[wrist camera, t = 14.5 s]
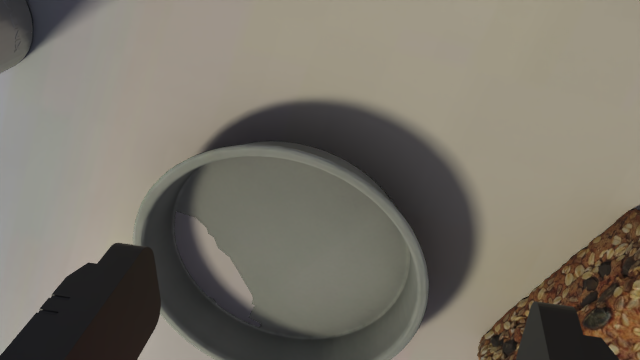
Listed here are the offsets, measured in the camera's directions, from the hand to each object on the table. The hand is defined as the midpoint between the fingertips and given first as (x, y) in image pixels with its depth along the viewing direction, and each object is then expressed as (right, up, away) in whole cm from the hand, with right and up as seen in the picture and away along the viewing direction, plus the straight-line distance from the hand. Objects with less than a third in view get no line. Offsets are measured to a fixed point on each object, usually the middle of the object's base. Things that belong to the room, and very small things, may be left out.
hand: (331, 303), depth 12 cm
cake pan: (-3, -3, +39) cm, 39 cm away
